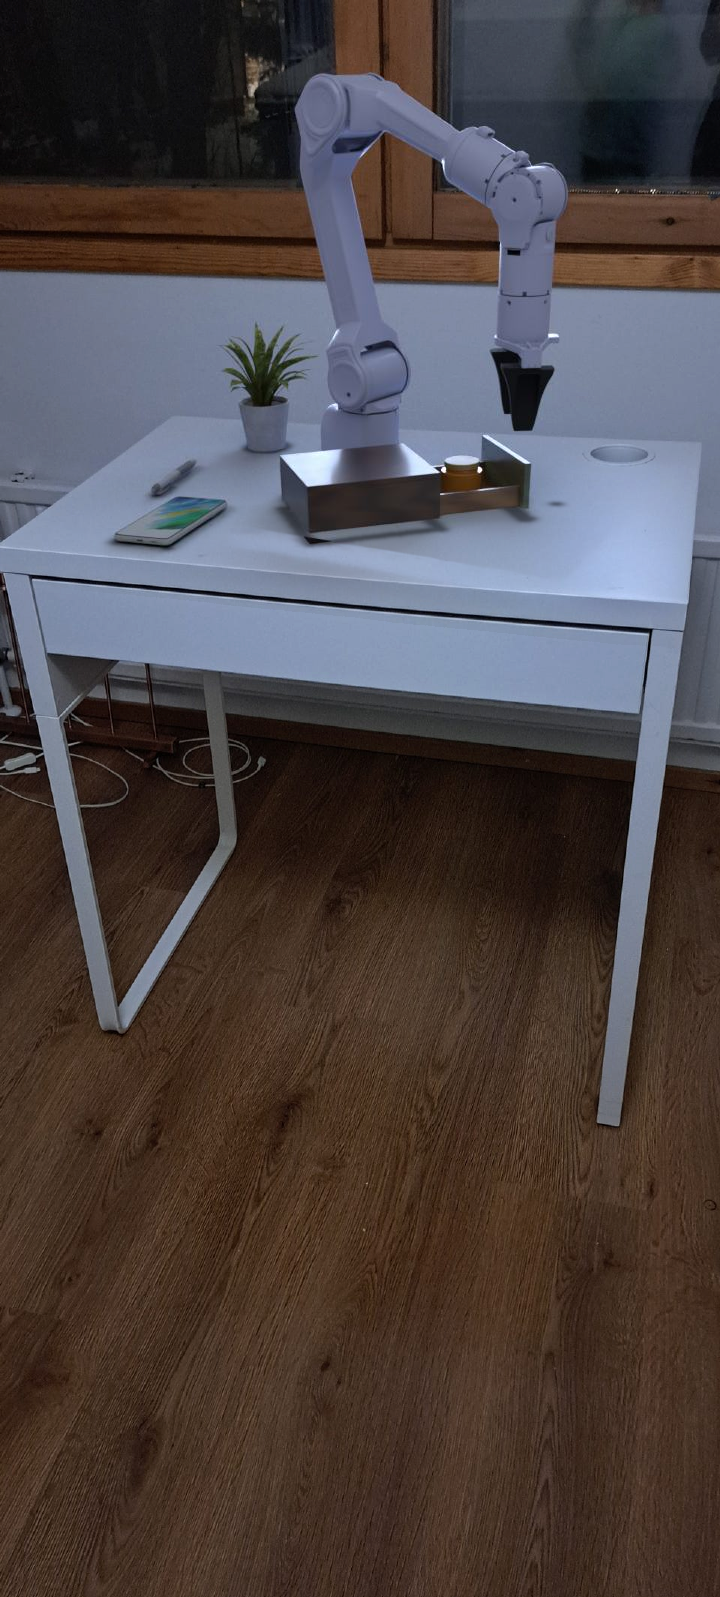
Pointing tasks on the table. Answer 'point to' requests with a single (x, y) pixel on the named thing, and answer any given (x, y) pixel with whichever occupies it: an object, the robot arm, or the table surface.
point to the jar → (461, 474)
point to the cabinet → (359, 488)
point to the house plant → (264, 391)
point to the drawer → (492, 482)
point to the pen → (172, 477)
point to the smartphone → (171, 520)
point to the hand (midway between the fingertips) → (517, 421)
